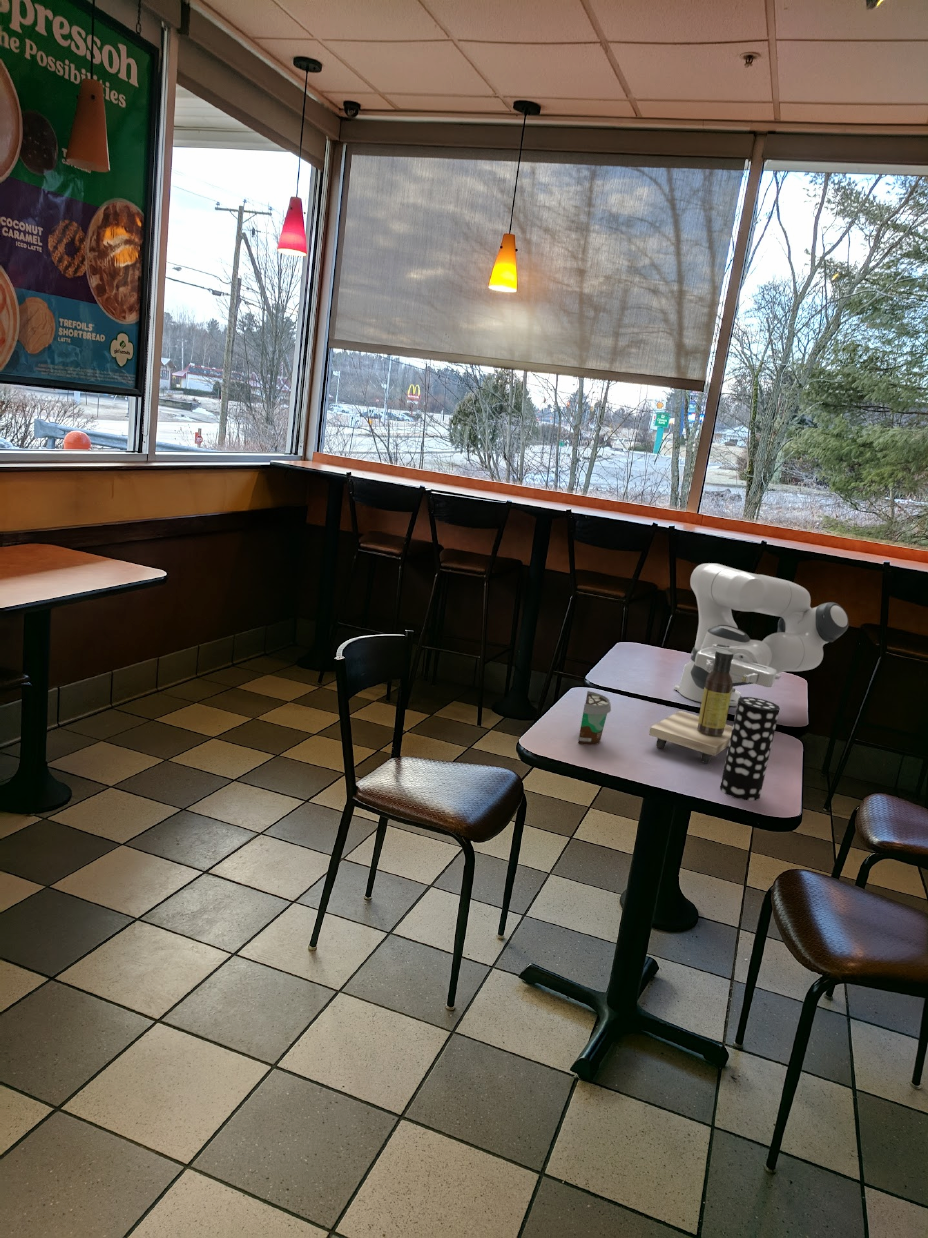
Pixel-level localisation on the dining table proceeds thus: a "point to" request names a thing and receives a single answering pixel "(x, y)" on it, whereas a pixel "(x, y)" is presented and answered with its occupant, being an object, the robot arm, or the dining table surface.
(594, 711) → the food container
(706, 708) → the sauce bottle
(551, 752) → the dining table surface
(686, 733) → the dolly
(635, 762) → the dining table surface
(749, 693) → the dining table surface
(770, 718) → the white-spotted black cylinder
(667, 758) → the dining table surface
